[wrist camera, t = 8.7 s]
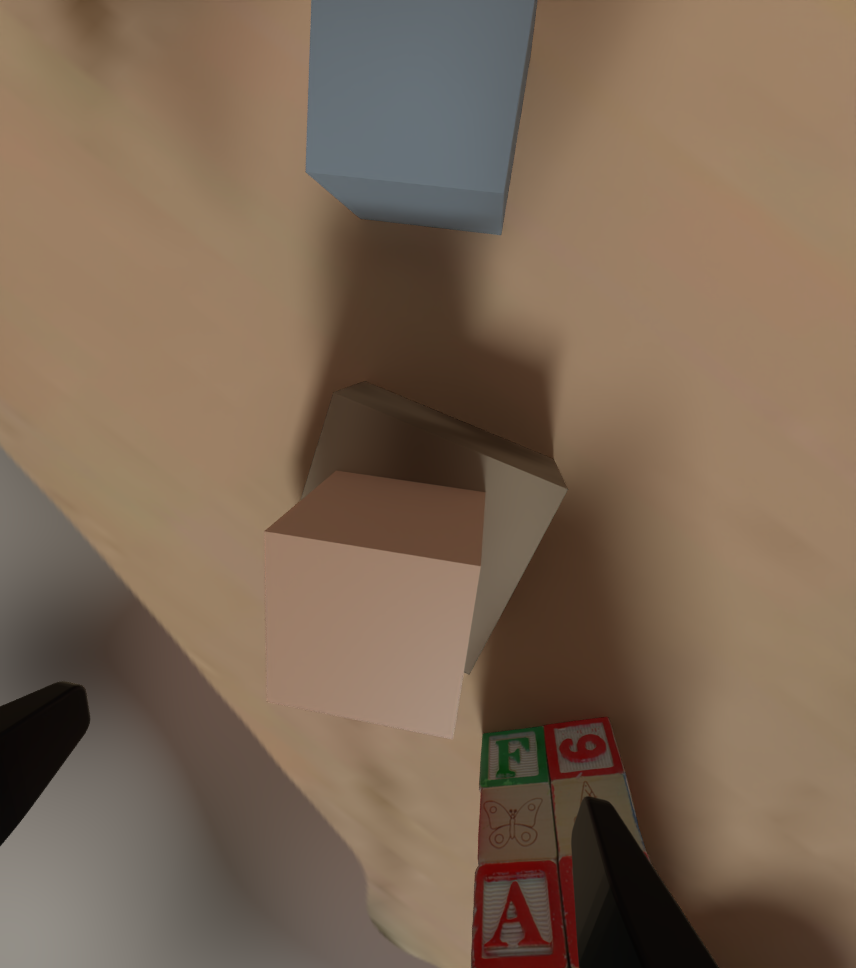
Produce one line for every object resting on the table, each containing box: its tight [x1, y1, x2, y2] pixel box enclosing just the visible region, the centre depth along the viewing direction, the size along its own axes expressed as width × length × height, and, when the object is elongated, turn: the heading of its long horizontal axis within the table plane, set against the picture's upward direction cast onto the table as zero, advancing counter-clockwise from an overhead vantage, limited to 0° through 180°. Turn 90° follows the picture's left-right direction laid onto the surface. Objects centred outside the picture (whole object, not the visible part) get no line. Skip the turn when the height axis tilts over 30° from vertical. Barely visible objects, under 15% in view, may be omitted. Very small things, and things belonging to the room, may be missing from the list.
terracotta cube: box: [264, 471, 486, 739], centre depth 13 cm, size 5×5×5 cm
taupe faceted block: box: [300, 381, 568, 674], centre depth 18 cm, size 8×8×4 cm
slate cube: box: [306, 0, 537, 235], centre depth 13 cm, size 5×5×5 cm
